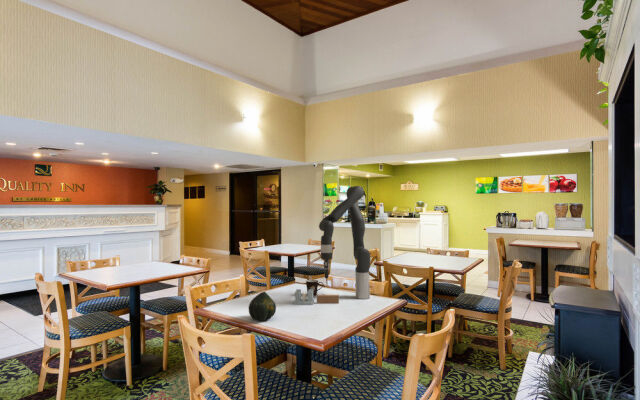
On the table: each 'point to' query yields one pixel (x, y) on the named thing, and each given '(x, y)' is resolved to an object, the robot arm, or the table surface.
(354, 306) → the table surface
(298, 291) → the display stand
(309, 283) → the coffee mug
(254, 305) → the squash
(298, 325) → the table surface
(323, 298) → the glasses bar
